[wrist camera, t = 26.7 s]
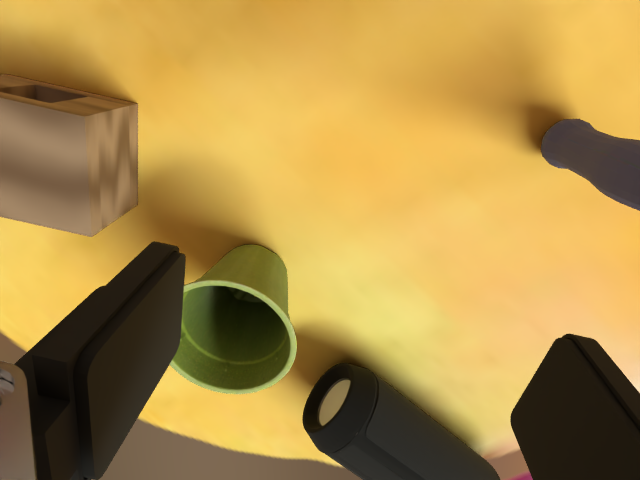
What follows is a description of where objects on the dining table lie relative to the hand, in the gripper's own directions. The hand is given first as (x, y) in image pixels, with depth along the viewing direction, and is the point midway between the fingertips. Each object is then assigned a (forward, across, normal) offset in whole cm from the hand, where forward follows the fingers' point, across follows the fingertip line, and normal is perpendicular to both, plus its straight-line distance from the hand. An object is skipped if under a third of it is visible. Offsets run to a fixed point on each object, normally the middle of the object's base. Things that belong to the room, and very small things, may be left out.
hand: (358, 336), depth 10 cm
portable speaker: (+29, -14, +34) cm, 46 cm away
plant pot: (+28, +7, +17) cm, 34 cm away
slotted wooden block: (+28, +26, +7) cm, 39 cm away
